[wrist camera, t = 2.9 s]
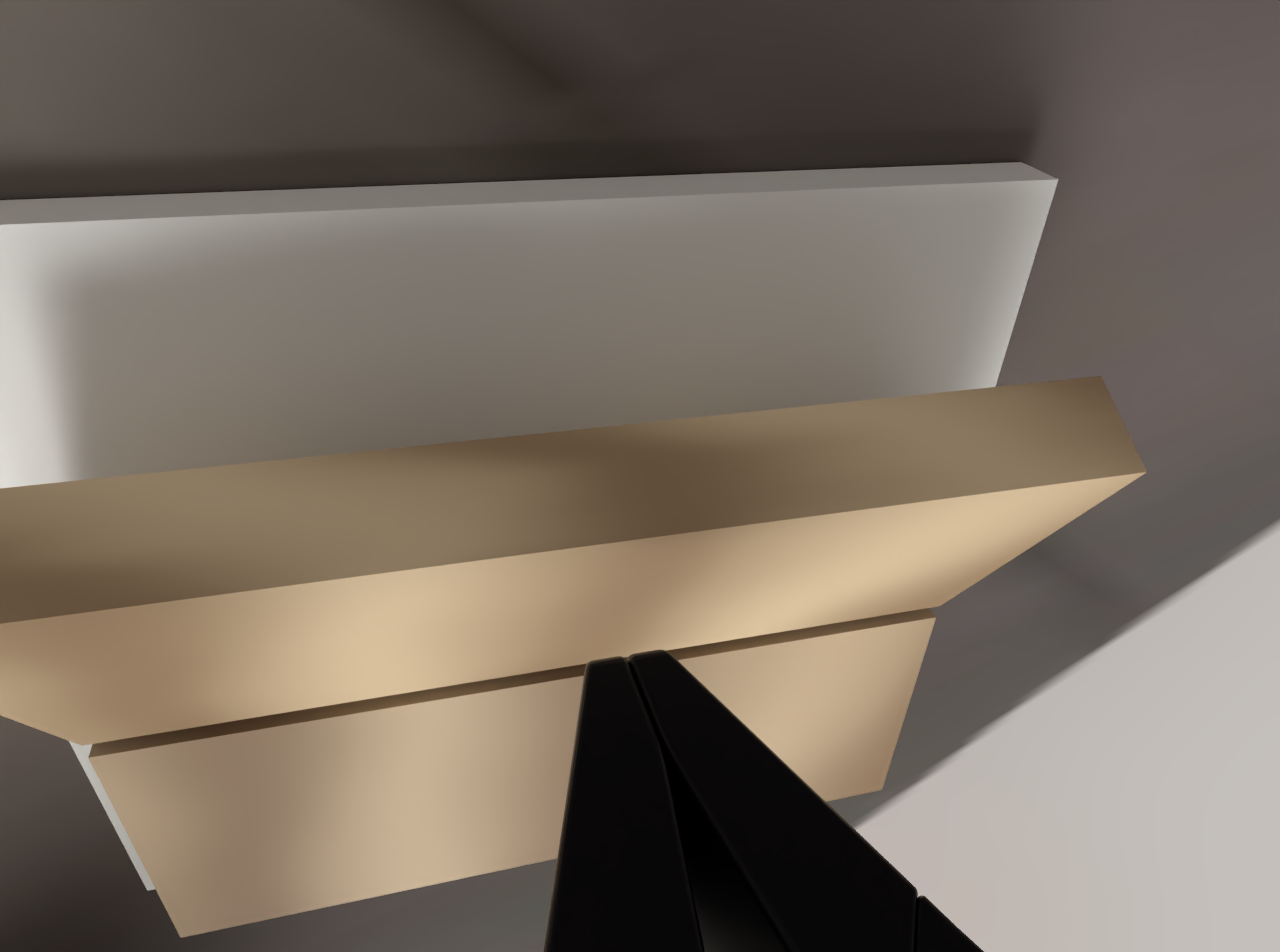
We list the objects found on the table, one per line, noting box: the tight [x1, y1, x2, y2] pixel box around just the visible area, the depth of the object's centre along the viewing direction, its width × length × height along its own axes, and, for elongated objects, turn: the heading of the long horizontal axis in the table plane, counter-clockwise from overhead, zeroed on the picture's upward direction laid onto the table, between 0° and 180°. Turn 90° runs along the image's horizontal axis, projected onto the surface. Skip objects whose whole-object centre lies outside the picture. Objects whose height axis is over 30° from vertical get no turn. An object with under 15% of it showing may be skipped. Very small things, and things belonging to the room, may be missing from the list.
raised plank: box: [0, 376, 1147, 746], centre depth 13 cm, size 15×6×2 cm, turn 87°
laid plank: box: [88, 608, 936, 938], centre depth 18 cm, size 15×6×2 cm, turn 87°
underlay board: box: [0, 162, 1058, 891], centre depth 16 cm, size 17×14×1 cm
